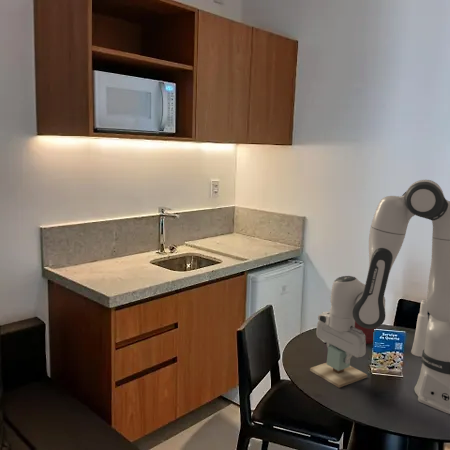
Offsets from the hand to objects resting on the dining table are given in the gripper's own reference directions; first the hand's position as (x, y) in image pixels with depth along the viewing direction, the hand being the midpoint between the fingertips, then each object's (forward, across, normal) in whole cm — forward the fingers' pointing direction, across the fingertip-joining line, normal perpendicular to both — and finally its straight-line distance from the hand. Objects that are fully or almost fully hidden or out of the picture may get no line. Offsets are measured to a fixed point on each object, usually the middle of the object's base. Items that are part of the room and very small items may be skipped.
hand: (338, 358), depth 171 cm
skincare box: (+6, +22, -18) cm, 29 cm away
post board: (+6, 0, 0) cm, 6 cm away
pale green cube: (+3, 0, 0) cm, 3 cm away
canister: (+6, +17, -32) cm, 37 cm away
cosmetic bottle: (+6, -5, -40) cm, 41 cm away
